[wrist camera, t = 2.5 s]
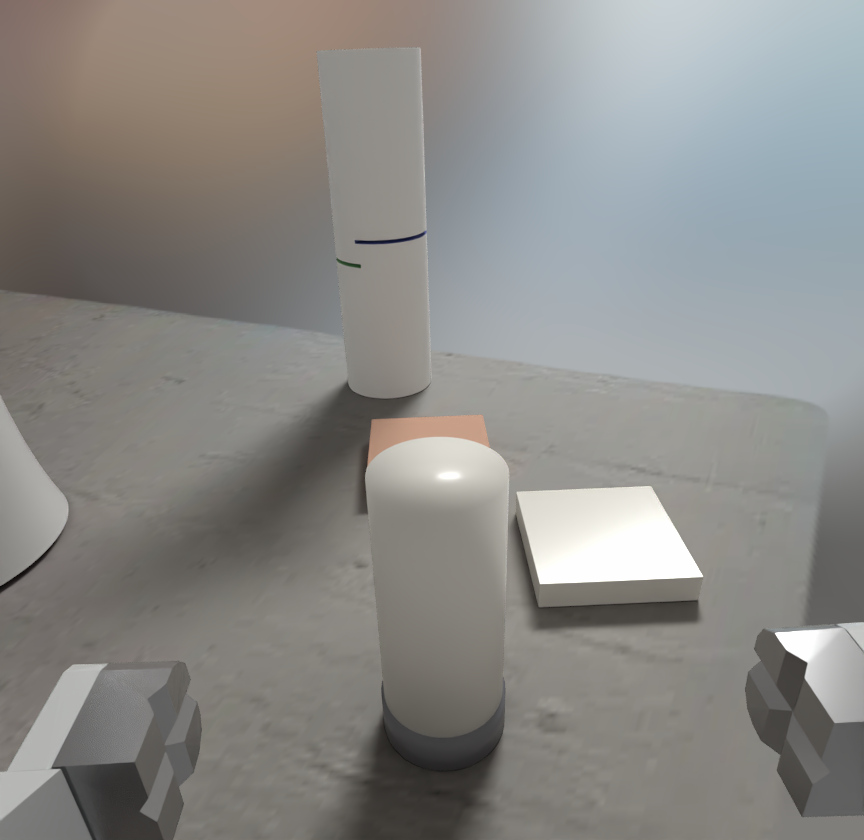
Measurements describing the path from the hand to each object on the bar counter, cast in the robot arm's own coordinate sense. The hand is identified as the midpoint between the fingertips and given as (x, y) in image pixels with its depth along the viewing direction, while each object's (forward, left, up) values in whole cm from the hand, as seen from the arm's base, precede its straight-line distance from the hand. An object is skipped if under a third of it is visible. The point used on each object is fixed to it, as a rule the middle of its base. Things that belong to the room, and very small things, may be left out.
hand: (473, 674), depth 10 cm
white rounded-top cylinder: (0, +12, -16) cm, 20 cm away
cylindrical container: (-3, +46, -16) cm, 49 cm away
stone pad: (+9, +22, -16) cm, 29 cm away
